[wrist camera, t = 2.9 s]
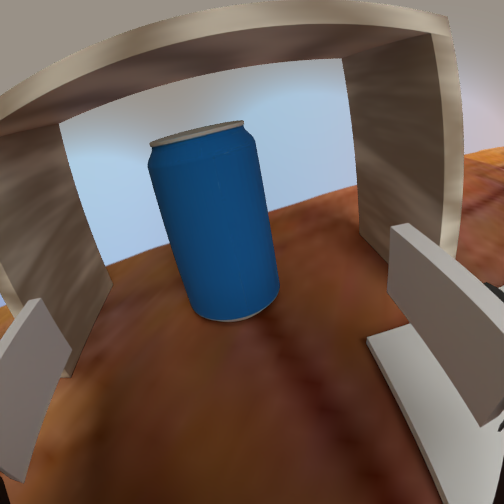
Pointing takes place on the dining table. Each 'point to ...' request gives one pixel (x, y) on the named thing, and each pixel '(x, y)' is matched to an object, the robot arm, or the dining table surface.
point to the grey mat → (440, 419)
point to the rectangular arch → (220, 59)
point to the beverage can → (216, 219)
